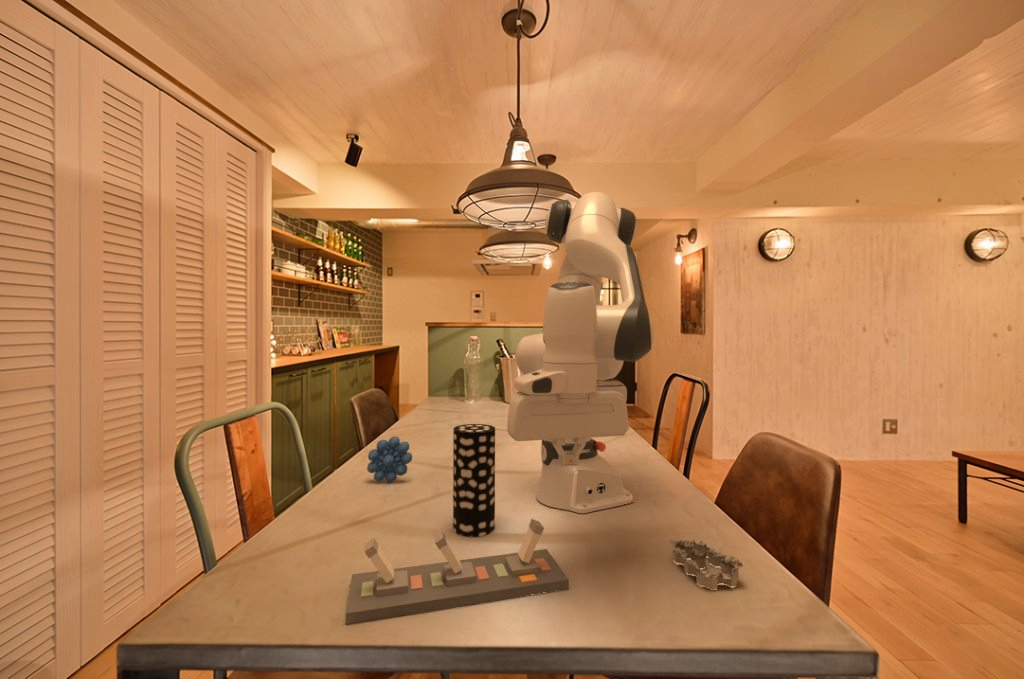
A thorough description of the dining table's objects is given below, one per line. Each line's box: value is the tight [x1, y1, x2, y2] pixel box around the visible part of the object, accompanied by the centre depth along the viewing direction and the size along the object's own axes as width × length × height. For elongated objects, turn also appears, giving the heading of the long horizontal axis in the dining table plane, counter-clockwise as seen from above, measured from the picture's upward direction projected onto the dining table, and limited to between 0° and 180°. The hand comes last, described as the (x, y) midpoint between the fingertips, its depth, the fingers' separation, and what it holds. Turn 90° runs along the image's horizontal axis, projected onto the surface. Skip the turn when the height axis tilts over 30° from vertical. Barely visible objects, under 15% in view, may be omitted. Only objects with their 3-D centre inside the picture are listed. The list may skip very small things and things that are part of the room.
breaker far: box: [363, 537, 395, 583], centre depth 66 cm, size 1×3×6 cm, turn 15°
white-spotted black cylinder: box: [452, 423, 496, 538], centre depth 90 cm, size 8×8×20 cm
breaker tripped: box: [517, 518, 545, 563], centre depth 72 cm, size 1×3×6 cm, turn 16°
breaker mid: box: [433, 530, 462, 574], centre depth 69 cm, size 1×3×6 cm, turn 15°
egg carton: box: [669, 539, 743, 590], centre depth 74 cm, size 11×8×4 cm
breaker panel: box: [345, 548, 570, 625], centre depth 69 cm, size 32×10×2 cm, turn 105°
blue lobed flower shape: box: [366, 436, 413, 483], centre depth 118 cm, size 12×7×12 cm, turn 91°
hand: (568, 464), depth 73 cm, fingers closed
